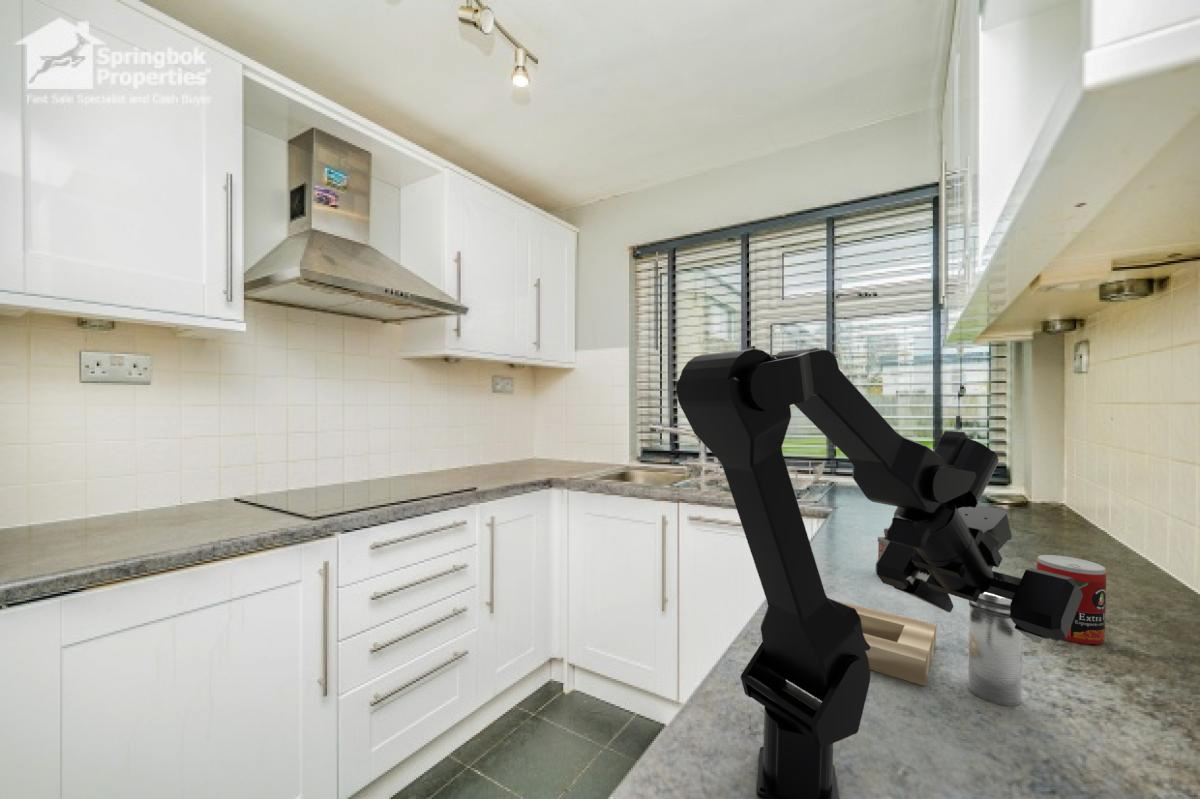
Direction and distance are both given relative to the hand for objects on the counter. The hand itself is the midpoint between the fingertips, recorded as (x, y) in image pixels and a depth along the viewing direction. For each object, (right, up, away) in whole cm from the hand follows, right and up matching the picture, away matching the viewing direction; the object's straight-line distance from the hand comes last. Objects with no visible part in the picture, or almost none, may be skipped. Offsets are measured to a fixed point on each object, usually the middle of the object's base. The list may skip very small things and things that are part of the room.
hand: (992, 623), depth 61 cm
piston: (0, -8, 0) cm, 8 cm away
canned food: (+25, -10, +18) cm, 33 cm away
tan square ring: (-8, -8, +11) cm, 16 cm away
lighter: (+13, -10, +42) cm, 45 cm away
